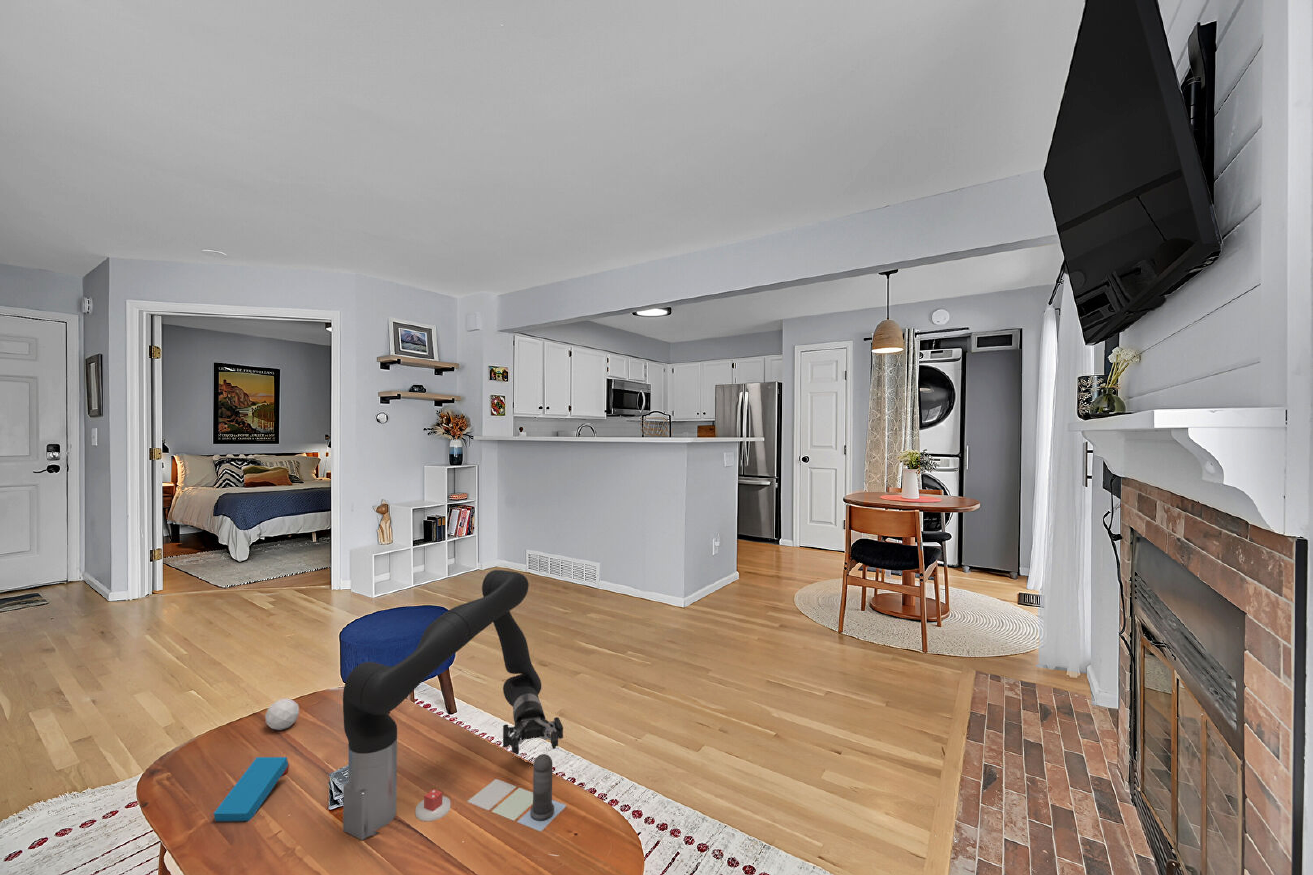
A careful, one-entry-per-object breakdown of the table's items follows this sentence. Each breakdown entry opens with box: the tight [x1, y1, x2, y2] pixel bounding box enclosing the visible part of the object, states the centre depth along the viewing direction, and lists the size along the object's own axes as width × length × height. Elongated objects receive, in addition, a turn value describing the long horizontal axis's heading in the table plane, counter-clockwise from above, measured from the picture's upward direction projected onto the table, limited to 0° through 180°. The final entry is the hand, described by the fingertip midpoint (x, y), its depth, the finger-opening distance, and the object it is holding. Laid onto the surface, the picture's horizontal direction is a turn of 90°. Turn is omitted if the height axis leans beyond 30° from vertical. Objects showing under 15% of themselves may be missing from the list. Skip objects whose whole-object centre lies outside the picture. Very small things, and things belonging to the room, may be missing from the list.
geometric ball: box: [264, 698, 300, 731], centre depth 157 cm, size 8×8×8 cm
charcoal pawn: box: [529, 753, 554, 821], centre depth 122 cm, size 5×5×12 cm
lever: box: [213, 756, 290, 822], centre depth 129 cm, size 7×7×18 cm
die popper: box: [415, 789, 451, 822], centre depth 123 cm, size 7×7×5 cm
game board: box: [466, 778, 567, 832], centre depth 126 cm, size 11×21×1 cm, turn 64°
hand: (536, 747), depth 133 cm, fingers open, 8 cm apart
